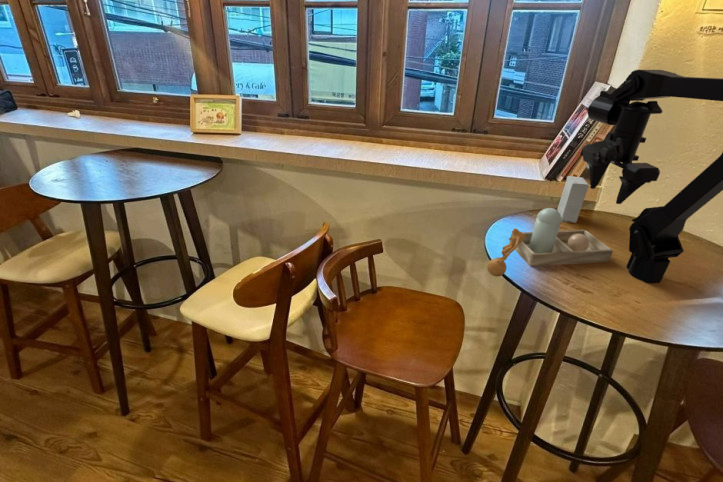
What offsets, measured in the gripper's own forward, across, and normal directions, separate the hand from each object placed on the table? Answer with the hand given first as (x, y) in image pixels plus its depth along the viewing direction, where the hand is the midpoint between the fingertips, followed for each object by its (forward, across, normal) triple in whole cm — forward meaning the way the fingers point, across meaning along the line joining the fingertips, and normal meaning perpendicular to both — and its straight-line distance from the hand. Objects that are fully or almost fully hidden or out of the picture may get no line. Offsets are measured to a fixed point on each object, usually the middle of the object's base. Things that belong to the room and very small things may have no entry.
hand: (604, 195), depth 97 cm
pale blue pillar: (+12, +5, -17) cm, 21 cm away
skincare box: (+13, -13, +2) cm, 19 cm away
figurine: (+13, +12, -30) cm, 35 cm away
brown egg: (+12, +5, -7) cm, 15 cm away
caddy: (+13, +5, -12) cm, 18 cm away
